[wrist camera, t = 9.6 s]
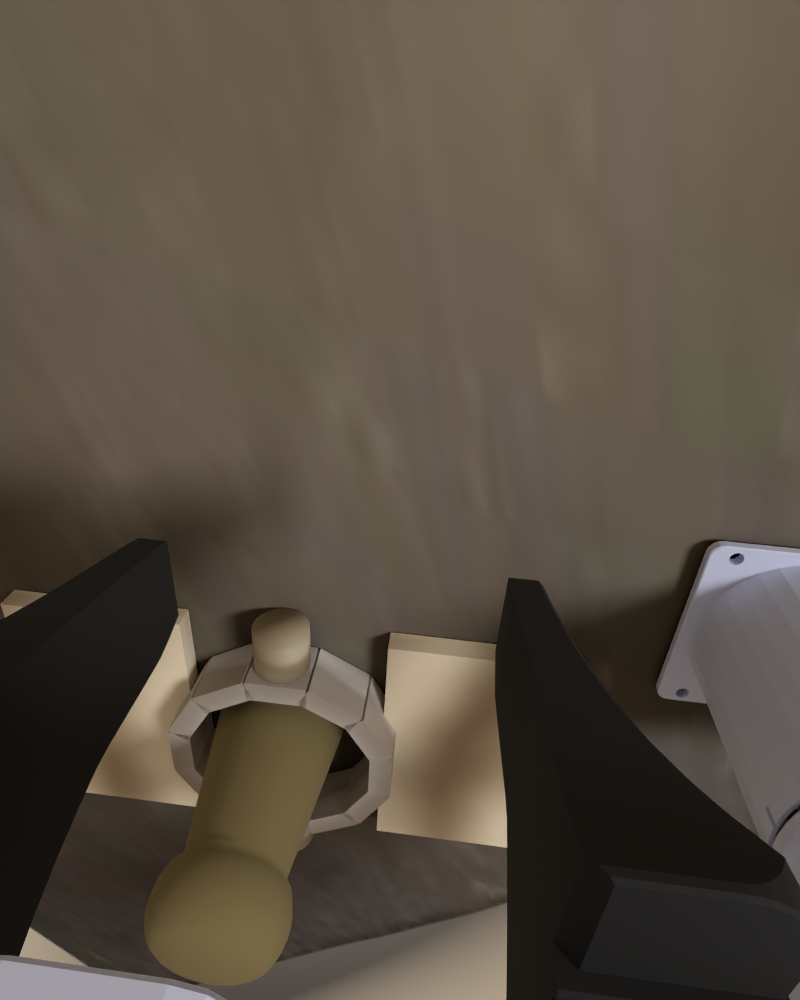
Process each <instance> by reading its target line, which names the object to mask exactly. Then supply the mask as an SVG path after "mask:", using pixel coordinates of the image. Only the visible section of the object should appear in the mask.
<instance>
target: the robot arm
mask: <svg viewBox="0 0 800 1000" xmlns="http://www.w3.org/2000/svg"><path fill="white" fill-rule="evenodd" d="M737 553H740V555H739V556H738V557H736V558H733V559H730V557H731V556H732V555H733V554H737ZM178 616H179V614H178V608H177V602H176V596H175V589H174V583H173V577H172V571H171V565H170V558H169V552H168V546H167V541H161V540H151V539H142V538H138V539H137V540H135V541H133V542H131V543H129V544H128V545H126V546H124V547H123V548H121V549H119V550H118V551H116V552H114V553H113V554H111V555H110V556H108V557H106V558H105V559H103V560H102V561H100V562H98V563H97V564H95V565H94V566H92V567H90V568H89V569H87V570H86V571H84V572H82V573H81V574H79V575H77V576H76V577H74V578H73V579H71V580H69V581H68V582H66V583H64V584H63V585H61V586H60V587H58V588H56V589H55V590H53V591H51V592H50V593H48V594H46V595H44V596H42V597H41V598H39V599H37V600H35V601H34V602H32V603H30V604H28V605H26V606H25V607H23V608H21V609H19V610H18V611H16V612H14V613H12V614H11V615H9V616H7V617H5V618H3V619H1V620H0V1000H227V999H225V998H223V997H221V996H220V995H218V994H216V993H214V992H212V991H211V990H209V989H207V988H203V987H199V986H196V985H192V984H188V983H184V982H181V981H177V980H173V979H167V978H160V977H154V976H147V975H140V974H133V973H127V972H120V971H113V970H106V969H99V968H93V967H86V966H79V965H72V964H66V963H59V962H51V961H45V960H39V959H32V958H24V957H19V955H20V952H21V949H22V946H23V944H24V941H25V938H26V936H27V933H28V930H29V927H30V925H31V922H32V919H33V916H34V914H35V911H36V909H37V906H38V904H39V901H40V899H41V896H42V894H43V891H44V889H45V886H46V884H47V881H48V879H49V876H50V874H51V871H52V869H53V866H54V864H55V861H56V859H57V856H58V854H59V852H60V849H61V847H62V845H63V842H64V840H65V838H66V836H67V833H68V831H69V829H70V826H71V824H72V822H73V819H74V817H75V815H76V812H77V810H78V808H79V806H80V804H81V801H82V799H83V797H84V795H85V793H86V791H87V789H88V786H89V784H90V782H91V780H92V778H93V776H94V773H95V771H96V769H97V767H98V765H99V763H100V761H101V760H102V758H103V756H104V754H105V752H106V750H107V748H108V747H109V745H110V743H111V741H112V740H113V738H114V736H115V735H116V733H117V731H118V730H119V728H120V726H121V725H122V723H123V721H124V720H125V718H126V716H127V715H128V713H129V711H130V710H131V708H132V706H133V705H134V703H135V701H136V700H137V698H138V696H139V694H140V693H141V691H142V689H143V688H144V686H145V684H146V683H147V681H148V679H149V677H150V676H151V674H152V672H153V671H154V669H155V667H156V665H157V664H158V662H159V660H160V658H161V657H162V654H163V652H164V650H165V647H166V645H167V643H168V641H169V638H170V636H171V633H172V631H173V628H174V626H175V623H176V621H177V618H178ZM656 689H657V692H658V694H659V696H661V697H662V698H665V699H672V700H680V701H689V702H697V703H706V704H707V705H708V707H709V710H710V713H711V715H712V718H713V720H714V723H715V725H716V728H717V730H718V733H719V736H720V738H721V741H722V743H723V746H724V748H725V751H726V753H727V756H728V759H729V761H730V764H731V766H732V769H733V771H734V774H735V776H736V779H737V782H738V784H739V787H740V789H741V792H742V794H743V797H744V799H745V802H746V805H747V807H748V810H749V812H750V815H751V817H752V820H753V822H754V825H755V828H756V830H757V833H758V835H759V837H758V836H756V835H755V834H754V833H752V832H751V831H750V830H748V829H747V828H746V827H745V826H743V825H742V824H741V823H739V822H738V821H737V820H735V819H734V818H733V817H731V816H730V815H729V814H728V813H727V812H725V811H724V810H723V809H722V808H721V807H719V806H718V805H717V804H716V803H715V802H714V801H712V800H711V799H710V798H709V797H708V796H707V795H706V794H704V793H703V792H702V791H701V790H700V789H699V788H697V787H696V786H695V785H694V784H693V783H692V782H691V781H690V780H689V779H688V778H686V777H685V776H684V775H683V774H682V773H681V772H680V771H679V770H678V769H677V768H676V767H675V766H674V765H673V764H672V763H671V762H670V761H669V760H668V759H667V758H666V757H665V756H664V755H663V754H662V753H661V752H660V751H659V750H658V749H657V748H656V747H655V746H654V745H653V744H652V743H651V742H650V741H649V740H648V739H647V738H646V737H645V736H644V735H643V733H642V732H641V731H640V730H639V729H638V728H637V727H636V726H635V724H634V723H633V722H632V721H631V720H630V719H629V717H628V716H627V715H626V714H625V713H624V712H623V710H622V709H621V708H620V707H619V705H618V704H617V703H616V702H615V700H614V699H613V698H612V696H611V695H610V694H609V693H608V691H607V690H606V689H605V687H604V686H603V684H602V683H601V682H600V680H599V679H598V678H597V676H596V675H595V673H594V672H593V671H592V669H591V668H590V666H589V665H588V663H587V662H586V660H585V659H584V657H583V656H582V654H581V652H580V651H579V649H578V648H577V646H576V645H575V643H574V641H573V640H572V638H571V637H570V635H569V633H568V632H567V630H566V628H565V627H564V625H563V623H562V621H561V620H560V618H559V616H558V614H557V612H556V611H555V609H554V607H553V605H552V603H551V601H550V599H549V597H548V595H547V593H546V591H545V589H544V587H543V586H542V584H541V583H540V582H539V581H535V580H525V579H516V578H509V579H508V584H507V590H506V595H505V601H504V606H503V612H502V617H501V623H500V628H499V634H498V639H497V645H496V650H495V703H496V713H497V723H498V732H499V742H500V751H501V760H502V770H503V779H504V789H505V799H506V814H507V998H506V1000H800V549H796V548H786V547H776V546H767V545H757V544H747V543H737V542H727V541H718V542H715V543H713V544H711V545H710V546H709V547H708V548H707V550H706V552H705V554H704V557H703V560H702V562H701V565H700V568H699V571H698V573H697V576H696V579H695V581H694V584H693V587H692V589H691V592H690V595H689V597H688V600H687V603H686V605H685V608H684V611H683V614H682V616H681V619H680V622H679V624H678V627H677V630H676V632H675V635H674V638H673V640H672V643H671V646H670V648H669V651H668V654H667V656H666V659H665V662H664V665H663V667H662V670H661V673H660V675H659V678H658V681H657V683H656ZM679 689H683V690H679Z"/></svg>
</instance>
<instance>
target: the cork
mask: <svg viewBox="0 0 800 1000" xmlns="http://www.w3.org/2000/svg"><path fill="white" fill-rule="evenodd" d="M343 731H344V728H342V727H340V726H338V725H336V724H334V723H333V722H331V721H329V720H327V719H325V718H323V717H321V716H319V715H317V714H315V713H313V712H311V711H309V710H307V709H305V708H303V707H302V706H294V705H286V704H277V703H269V702H261V701H253V700H249V701H246V702H243V703H239V704H236V705H233V706H229V707H226V708H223V709H221V711H220V715H219V719H218V723H217V727H216V730H215V734H214V738H213V742H212V746H211V750H210V753H209V757H208V761H207V765H206V769H205V773H204V777H203V780H202V784H201V788H200V792H199V796H198V800H197V803H196V807H195V811H194V815H193V819H192V823H191V827H190V830H189V834H188V838H187V842H186V846H185V850H184V851H183V852H181V853H180V854H179V855H177V856H176V857H175V858H174V859H172V860H171V861H170V862H169V863H168V864H167V865H166V867H165V868H164V870H163V871H162V872H161V874H160V875H159V877H158V878H157V880H156V883H155V885H154V887H153V890H152V892H151V894H150V897H149V900H148V903H147V906H146V911H145V917H144V922H143V923H144V931H145V939H146V943H147V946H148V949H149V950H150V951H151V953H152V954H153V955H154V956H155V957H156V959H157V960H158V961H159V962H160V963H161V964H162V965H163V966H164V967H166V968H167V969H169V970H170V971H172V972H173V973H175V974H178V975H180V976H182V977H184V978H186V979H189V980H193V981H196V982H200V983H204V984H211V985H217V986H234V985H239V984H244V983H248V982H250V981H253V980H255V979H257V978H259V977H261V976H262V975H265V973H266V972H267V971H268V970H269V969H270V968H271V966H272V965H273V964H274V963H275V962H276V960H277V959H278V957H279V956H280V954H281V952H282V950H283V948H284V946H285V944H286V942H287V939H288V937H289V933H290V929H291V924H292V889H291V887H290V884H289V881H288V879H287V878H288V875H289V873H290V870H291V867H292V865H293V862H294V860H295V857H296V854H297V852H298V849H299V846H300V844H301V841H302V839H303V836H304V833H305V831H306V828H307V826H308V823H309V820H310V818H311V815H312V812H313V810H314V807H315V805H316V802H317V799H318V797H319V794H320V792H321V789H322V786H323V784H324V781H325V779H326V776H327V773H328V771H329V768H330V765H331V763H332V760H333V758H334V755H335V752H336V750H337V747H338V745H339V742H340V739H341V737H342V734H343Z"/></svg>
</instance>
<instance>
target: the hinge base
mask: <svg viewBox="0 0 800 1000" xmlns="http://www.w3.org/2000/svg"><path fill="white" fill-rule="evenodd" d="M46 594H48V593H39V592H30V591H21V590H14V591H13V592H12V593H11V594H10V595H9V596H8V597H7V598H6V599H5V600H4V601H3V602H2V603H1V604H0V605H1V608H2V611H3V614H4V617H7V616H9V615H11V614H12V613H14V612H16V611H18V610H19V609H21V608H23V607H25V606H26V605H28V604H30V603H32V602H34V601H35V600H37V599H39V598H41V597H42V596H44V595H46ZM178 614H179V616H178V618H177V621H176V623H175V626H174V628H173V631H172V633H171V636H170V638H169V641H168V643H167V645H166V647H165V650H164V652H163V654H162V657H161V658H160V660H159V662H158V664H157V665H156V667H155V669H154V671H153V672H152V674H151V676H150V677H149V679H148V681H147V683H146V684H145V686H144V688H143V689H142V691H141V693H140V694H139V696H138V698H137V700H136V701H135V703H134V705H133V706H132V708H131V710H130V711H129V713H128V715H127V716H126V718H125V720H124V721H123V723H122V725H121V726H120V728H119V730H118V731H117V733H116V735H115V736H114V738H113V740H112V741H111V743H110V745H109V747H108V748H107V750H106V752H105V754H104V756H103V758H102V760H101V761H100V763H99V765H98V767H97V769H96V771H95V773H94V776H93V778H92V780H91V782H90V784H89V786H88V789H87V791H86V792H87V793H95V794H103V795H110V796H118V797H125V798H133V799H141V800H148V801H156V802H163V803H171V804H179V805H186V806H194V807H196V803H197V800H198V796H199V792H200V788H201V784H202V780H203V777H204V773H205V769H206V765H207V761H208V757H209V753H210V750H211V746H212V742H213V738H214V734H215V730H216V728H215V727H214V726H213V720H212V713H211V712H213V711H216V710H219V709H223V708H226V707H229V706H233V705H236V704H239V703H243V702H246V701H249V700H253V701H261V702H269V703H277V704H286V705H294V706H302V707H303V708H305V709H307V710H309V711H311V712H313V713H315V714H317V715H319V716H321V717H323V718H325V719H327V720H329V721H331V722H333V723H334V724H336V725H338V726H340V727H342V728H344V729H346V730H347V732H348V733H349V734H350V736H351V737H352V738H353V740H354V741H355V742H356V744H357V745H358V746H359V748H360V749H361V750H362V752H363V753H364V754H365V757H364V758H362V759H361V760H360V761H359V762H358V763H357V764H356V765H355V766H354V767H353V768H350V769H346V770H342V771H338V772H334V773H330V774H327V776H326V779H325V781H324V784H323V786H322V789H321V792H320V794H319V797H318V799H317V802H316V805H315V807H314V810H313V812H312V815H311V818H310V820H309V823H308V826H307V828H306V831H305V833H304V836H303V839H302V841H301V844H300V846H299V849H298V851H300V850H302V849H304V848H305V847H306V846H307V845H308V844H309V843H310V842H311V840H312V838H313V835H314V834H316V833H320V832H325V831H330V830H334V829H339V828H344V827H349V826H353V825H358V823H359V824H360V823H361V822H362V821H363V820H364V819H366V818H367V817H368V816H369V815H370V814H371V813H373V812H374V811H375V810H376V809H377V808H378V817H377V831H384V832H392V833H400V834H407V835H415V836H422V837H430V838H438V839H445V840H453V841H461V842H468V843H476V844H483V845H491V846H499V847H506V848H507V814H506V799H505V789H504V779H503V770H502V760H501V751H500V742H499V732H498V723H497V713H496V703H495V650H496V645H497V644H490V643H481V642H473V641H464V640H455V639H446V638H437V637H428V636H420V635H411V634H402V633H393V632H391V634H390V640H389V646H388V659H387V674H386V690H385V695H384V693H383V692H382V691H381V689H380V688H379V686H378V685H377V683H376V682H375V680H374V679H373V678H372V677H370V675H369V674H367V673H365V672H363V671H362V670H360V669H358V668H356V667H354V666H352V665H351V664H349V663H347V662H345V661H343V660H341V659H340V658H338V657H336V656H334V655H332V654H330V653H328V652H327V651H325V650H323V649H320V650H319V651H318V648H317V647H310V623H309V620H308V618H307V617H306V616H305V615H304V614H302V613H301V612H299V611H297V610H294V609H289V608H278V609H273V610H269V611H267V612H265V613H263V614H261V615H260V616H259V617H257V618H256V619H255V621H254V622H253V624H252V627H251V634H252V644H249V645H246V646H243V647H240V648H237V649H234V650H231V651H228V652H225V653H222V654H219V655H216V656H213V657H212V658H210V659H209V661H208V662H207V664H206V665H205V666H204V668H203V669H202V671H201V672H200V674H199V675H198V671H197V664H196V658H195V651H194V644H193V638H192V631H191V624H190V618H189V611H188V609H181V608H178Z"/></svg>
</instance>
